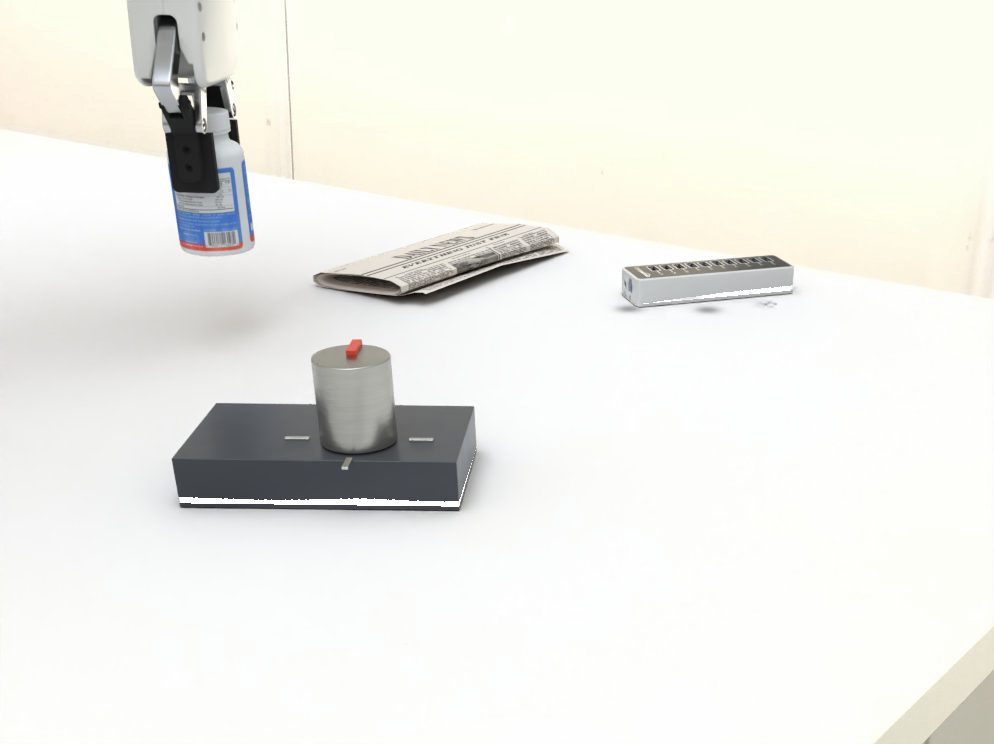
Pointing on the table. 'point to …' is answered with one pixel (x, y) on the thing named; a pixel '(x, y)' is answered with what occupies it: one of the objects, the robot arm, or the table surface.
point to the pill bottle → (218, 201)
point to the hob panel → (323, 458)
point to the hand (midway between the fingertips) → (209, 181)
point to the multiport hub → (704, 279)
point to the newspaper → (442, 259)
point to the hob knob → (354, 398)
